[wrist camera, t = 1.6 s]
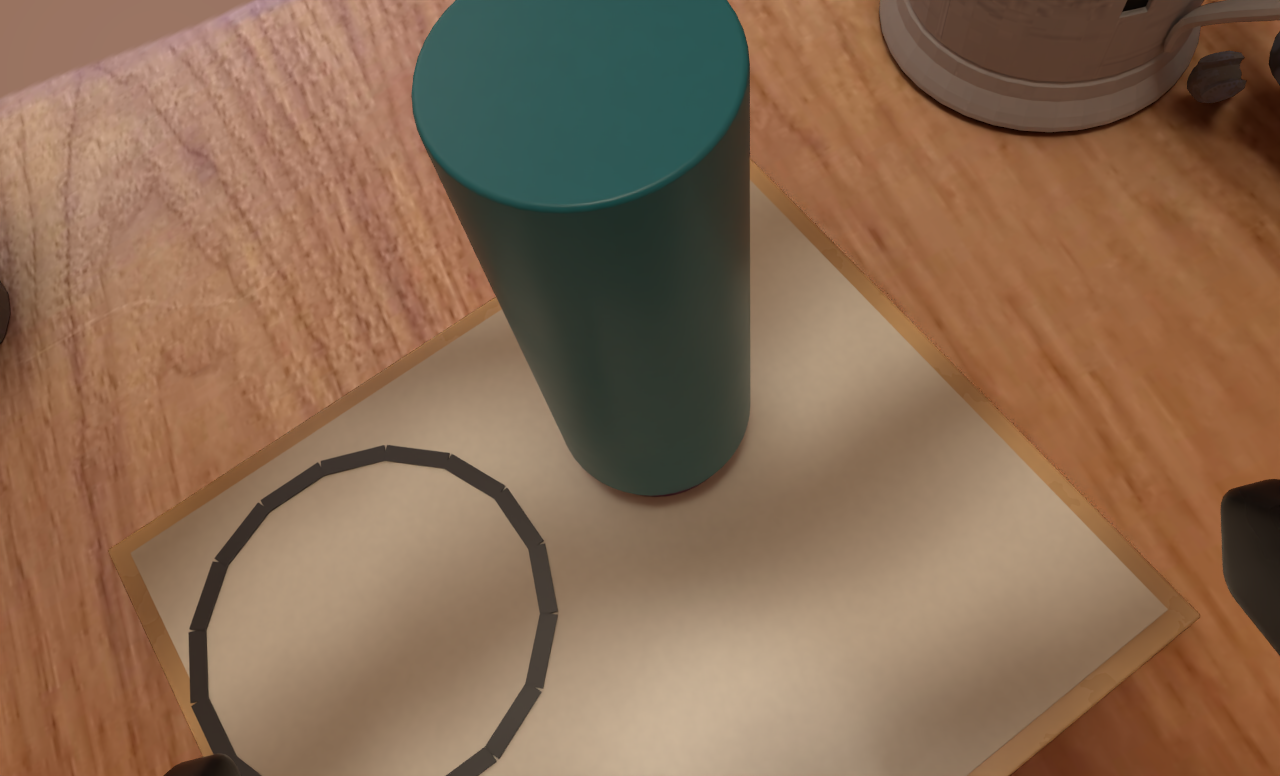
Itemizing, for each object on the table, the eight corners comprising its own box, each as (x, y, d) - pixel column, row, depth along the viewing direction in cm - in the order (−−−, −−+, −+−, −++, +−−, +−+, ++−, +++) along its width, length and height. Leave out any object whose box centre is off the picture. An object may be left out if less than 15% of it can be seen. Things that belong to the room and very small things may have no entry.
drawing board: (1191, 621, 21) (1206, 613, 20) (442, 1243, 18) (429, 1260, 17) (734, 154, 27) (733, 136, 27) (120, 556, 24) (102, 547, 24)
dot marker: (788, 437, 23) (821, 81, 12) (635, 547, 22) (525, 274, 11) (677, 308, 25) (619, -106, 14) (532, 406, 24) (350, 52, 13)
